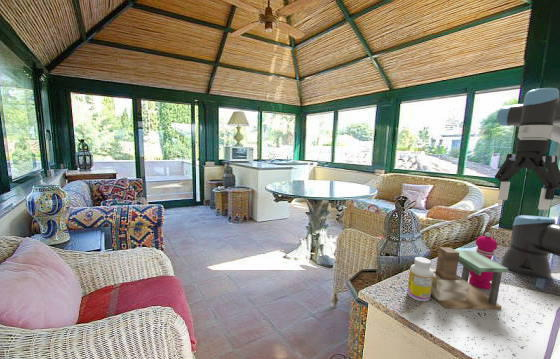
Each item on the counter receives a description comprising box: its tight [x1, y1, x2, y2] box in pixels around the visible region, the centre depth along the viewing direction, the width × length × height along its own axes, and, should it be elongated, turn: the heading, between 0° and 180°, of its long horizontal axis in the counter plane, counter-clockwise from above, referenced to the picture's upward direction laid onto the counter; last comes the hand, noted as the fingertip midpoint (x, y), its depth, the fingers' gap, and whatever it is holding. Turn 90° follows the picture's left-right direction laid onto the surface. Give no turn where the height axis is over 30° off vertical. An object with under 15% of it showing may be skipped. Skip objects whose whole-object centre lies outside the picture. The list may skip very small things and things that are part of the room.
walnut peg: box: [435, 246, 459, 280], centre depth 84 cm, size 4×4×15 cm
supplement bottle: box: [407, 256, 433, 302], centre depth 83 cm, size 7×7×13 cm
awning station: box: [430, 249, 509, 310], centre depth 84 cm, size 19×14×13 cm
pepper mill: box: [468, 232, 498, 290], centre depth 91 cm, size 7×7×20 cm
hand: (521, 204), depth 84 cm, fingers open, 13 cm apart
